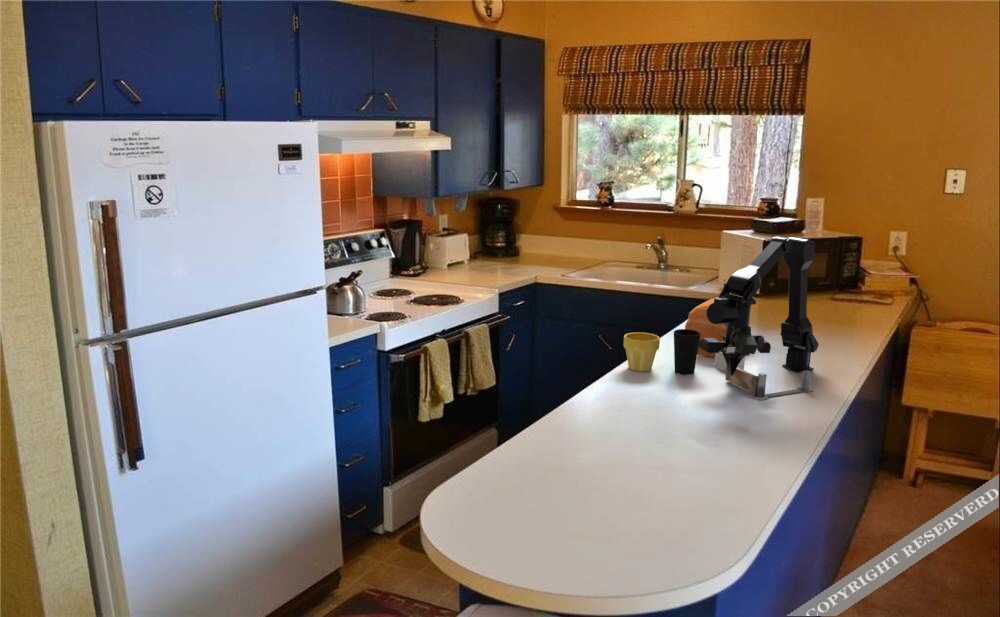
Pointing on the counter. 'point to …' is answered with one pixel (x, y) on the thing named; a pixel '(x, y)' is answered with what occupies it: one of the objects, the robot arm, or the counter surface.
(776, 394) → the strip
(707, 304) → the bread
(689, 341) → the cup
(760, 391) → the hinge post
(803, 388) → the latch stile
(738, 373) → the gate
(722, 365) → the base block
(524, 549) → the counter surface
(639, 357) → the plant pot
